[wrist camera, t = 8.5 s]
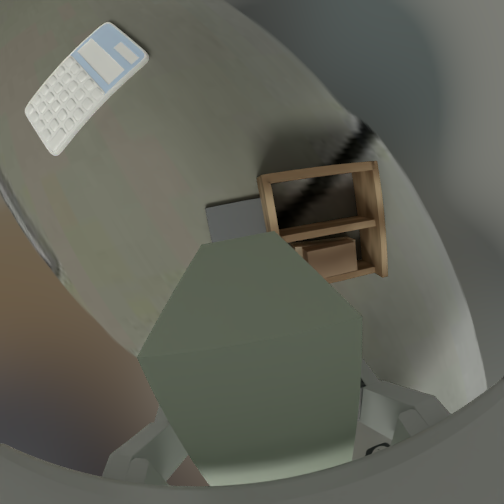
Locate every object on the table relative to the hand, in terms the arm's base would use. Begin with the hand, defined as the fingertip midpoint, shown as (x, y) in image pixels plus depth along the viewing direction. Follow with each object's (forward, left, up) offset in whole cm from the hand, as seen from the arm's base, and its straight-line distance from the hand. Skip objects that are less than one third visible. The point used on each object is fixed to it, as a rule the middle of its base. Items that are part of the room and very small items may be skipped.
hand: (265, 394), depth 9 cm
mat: (0, 0, -26) cm, 26 cm away
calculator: (+30, +19, -27) cm, 45 cm away
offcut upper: (-2, -10, -24) cm, 26 cm away
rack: (+2, -10, -26) cm, 28 cm away
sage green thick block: (0, 0, -9) cm, 9 cm away
